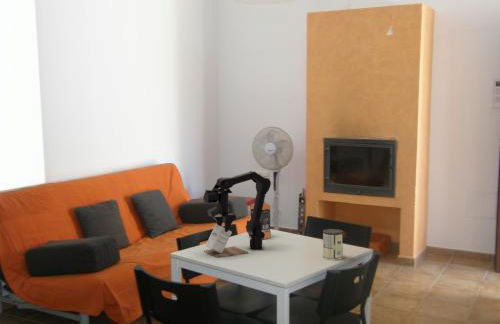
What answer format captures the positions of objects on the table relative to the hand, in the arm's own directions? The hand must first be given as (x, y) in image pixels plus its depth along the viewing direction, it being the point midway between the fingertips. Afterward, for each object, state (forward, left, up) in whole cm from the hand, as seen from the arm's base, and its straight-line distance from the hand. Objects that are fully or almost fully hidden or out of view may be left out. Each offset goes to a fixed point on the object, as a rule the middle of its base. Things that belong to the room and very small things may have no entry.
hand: (223, 230), depth 288 cm
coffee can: (-57, +9, -12) cm, 59 cm away
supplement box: (+5, +3, -10) cm, 11 cm away
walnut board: (-2, -1, -12) cm, 12 cm away
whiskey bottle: (-21, -38, -12) cm, 45 cm away
